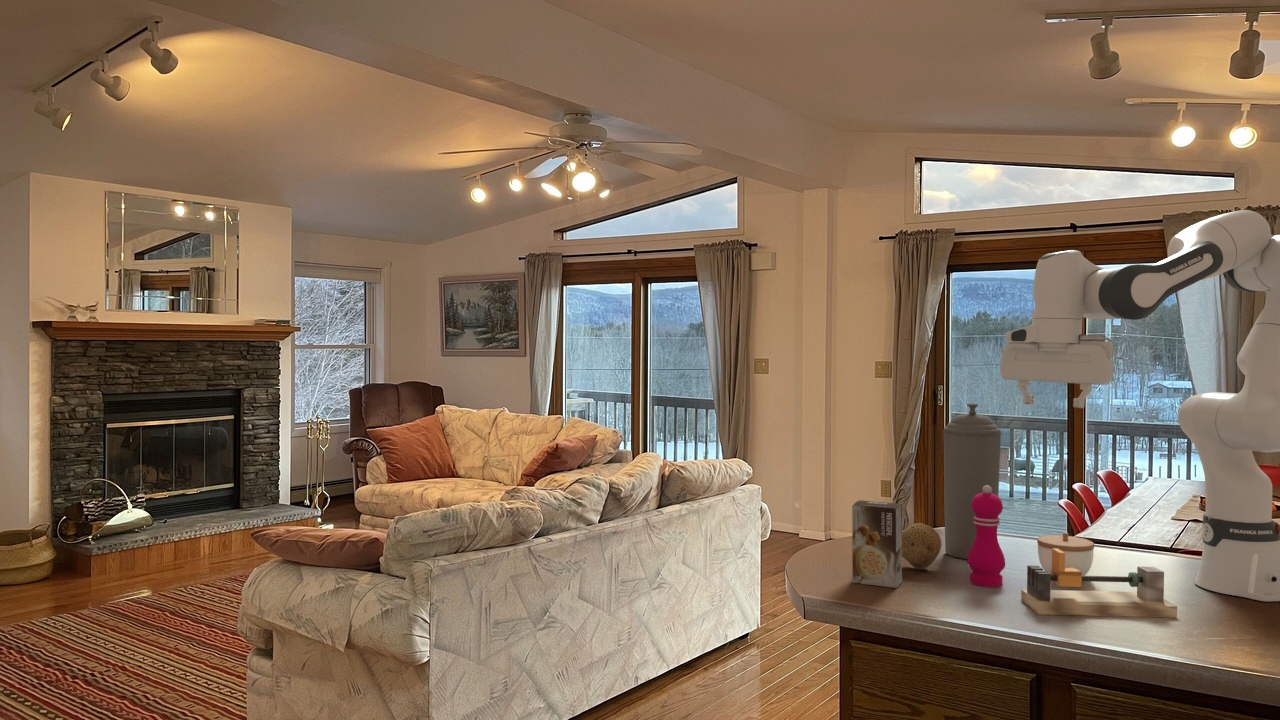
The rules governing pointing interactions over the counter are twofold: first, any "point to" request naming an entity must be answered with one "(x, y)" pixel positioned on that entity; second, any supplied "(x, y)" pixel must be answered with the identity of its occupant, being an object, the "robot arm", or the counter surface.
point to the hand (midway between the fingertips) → (1053, 406)
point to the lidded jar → (1066, 551)
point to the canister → (967, 475)
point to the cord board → (1100, 595)
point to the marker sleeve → (1064, 571)
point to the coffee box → (877, 543)
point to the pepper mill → (986, 541)
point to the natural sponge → (920, 545)
